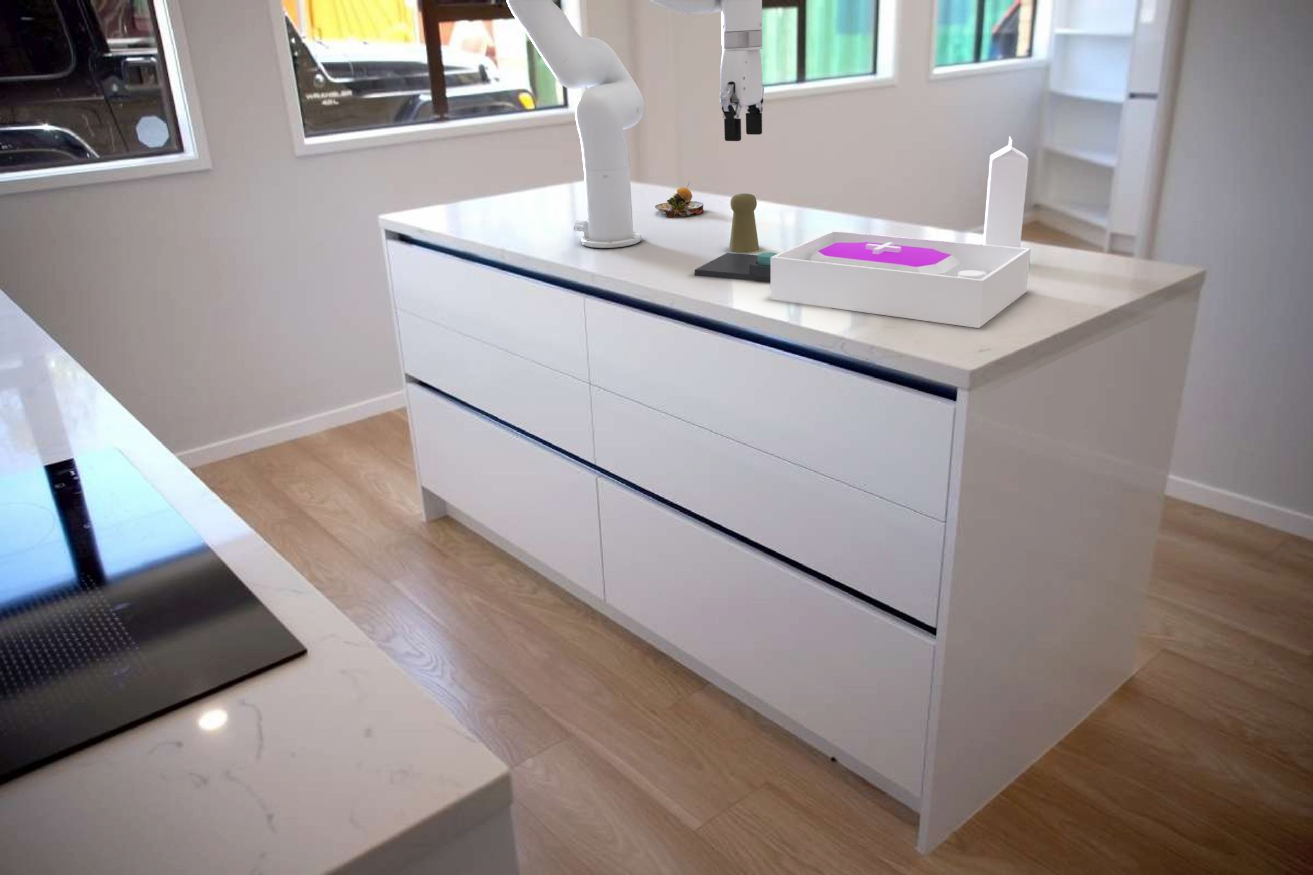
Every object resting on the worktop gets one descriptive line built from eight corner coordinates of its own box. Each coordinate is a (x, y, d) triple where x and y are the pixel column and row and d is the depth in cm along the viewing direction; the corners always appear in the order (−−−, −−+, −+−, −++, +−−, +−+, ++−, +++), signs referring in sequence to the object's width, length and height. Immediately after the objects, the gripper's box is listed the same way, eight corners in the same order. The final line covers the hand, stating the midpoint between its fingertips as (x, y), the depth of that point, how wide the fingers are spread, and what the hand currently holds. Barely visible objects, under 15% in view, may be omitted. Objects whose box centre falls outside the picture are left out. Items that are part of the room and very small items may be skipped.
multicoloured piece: (673, 206, 246) (672, 176, 243) (713, 210, 240) (712, 178, 237) (644, 215, 237) (643, 183, 235) (685, 219, 231) (684, 186, 228)
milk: (982, 268, 178) (992, 141, 169) (981, 260, 183) (990, 136, 174) (1019, 269, 176) (1030, 140, 167) (1016, 260, 181) (1027, 135, 173)
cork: (757, 253, 196) (757, 196, 192) (727, 253, 198) (726, 197, 193) (760, 246, 202) (760, 191, 197) (731, 246, 203) (730, 191, 199)
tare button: (754, 265, 176) (754, 256, 176) (762, 261, 179) (762, 251, 179) (773, 267, 175) (773, 257, 174) (781, 262, 178) (781, 253, 177)
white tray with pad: (978, 328, 146) (983, 279, 143) (770, 299, 165) (770, 255, 162) (1026, 291, 162) (1030, 247, 160) (831, 269, 182) (832, 229, 179)
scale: (692, 277, 182) (692, 260, 180) (727, 258, 193) (726, 243, 192) (777, 284, 174) (777, 267, 173) (808, 265, 186) (808, 249, 184)
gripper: (742, 40, 193) (744, 132, 200) (703, 45, 179) (706, 143, 186) (778, 38, 189) (779, 132, 196) (741, 43, 176) (742, 144, 182)
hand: (743, 137), depth 191 cm, fingers open, 9 cm apart
